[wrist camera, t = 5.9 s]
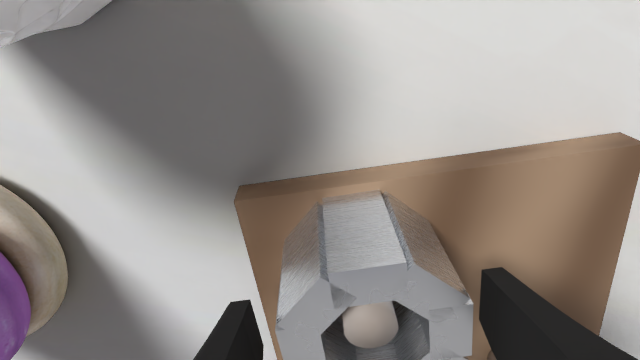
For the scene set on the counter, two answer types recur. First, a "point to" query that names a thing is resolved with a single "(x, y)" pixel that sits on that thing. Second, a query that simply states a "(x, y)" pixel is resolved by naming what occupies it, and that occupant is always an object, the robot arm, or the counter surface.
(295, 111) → the counter surface
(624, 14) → the counter surface
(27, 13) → the white cup
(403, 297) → the gear ring
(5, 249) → the stacking toy
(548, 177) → the board
